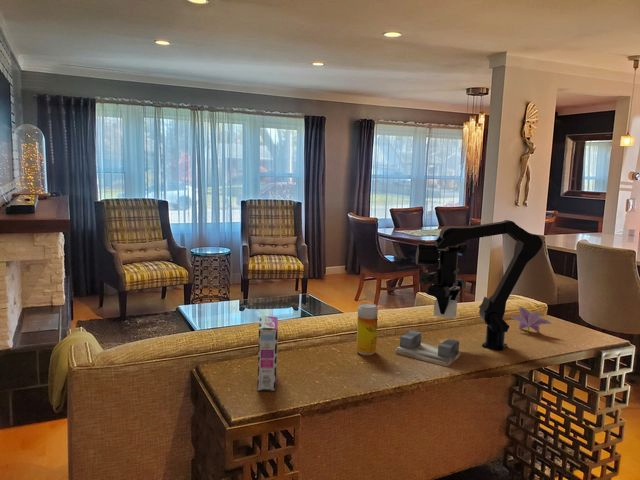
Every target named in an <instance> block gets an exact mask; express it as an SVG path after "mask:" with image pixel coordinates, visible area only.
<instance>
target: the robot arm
mask: <svg viewBox="0 0 640 480" xmlns="http://www.w3.org/2000/svg"><path fill="white" fill-rule="evenodd" d="M505 234H507V235H508V236H509V237H510V238H511V239H513V240H514V241H515V245H514V251H513V257H512V258H511V260H510V263H509V265H507V268H506V270H505V272H504V274H503V275H502V277H501V280H500V281H499V283H498V284H497V286H496V289H495V290H494V292H493V294H492V295H491V296H489V298H488V297H486V296H484V297H483V300H482V302H481V304H480V305H479V306H478V308H479V312H478V314H479V316H480V318H481V319H482V320H483V322H484V324H485V325H486V331H485V342H484V343H482V344H481V346H482V347H484V348H488V349H493V350H497V351H503V350H504V349H505V348H506V347H507V346H508V344H507V343H505V335H506V333H508V330H509V329H510V325H509V323H507V322H506V321H505V320H504V317H505V313H506V306H507V305H506V304H507V301H508V299H509V298H510V295H511V293H512V292H513V290H514V289H515V286H516V284H517V283H518V281H519V279H520V277H521V275H522V273H523V271H524V270H525V268H526V266H527V265H528V263H529V262H530V261H531V260H533V258H535V257H537V254H539V252H540V251H541V249H542V248H543V243H544V242H543V240H542V238H541V237H540V236H539V234H538V235H537V234H534V233H531V232H528V231H526V230H525V229H524V228H522V227H521V226H520V225H518V224H517V223H516V222H515V221H512V220H510V219H505V220H502V221H495V222H490V223H484V224H477V225H471V226H463V225H462V226H460V225H447V226H444V227H442V228H441V230H440V231H439V236H438V237H437V238H436V239H435V240H434V242H433V243H432V244H431V243H430V244H429V243H419V242H418V243H417V248H416V252H415V264H416V265H419V266H420V265H422V266H423V265H424V266H426V265H427V266H435V264H437V263H438V262H439V263H438V267H437V268H436V269H435V272H430V273H429V272H428V271H426V272H422V273H420V276H419V277H420V278H419V282H421V283H422V286H426V285H427V284H428V285H429V284H432V283H433V284H432V285H429V286H428V287H426V295H429V296H434V298H436V300H437V301H438V305H439V309H440V313H441V314H444V313H445V311H446V309H447V306H448V304H449V301H450V300H455V301H457V298H458V297H459V295H460V294H461V292H462V290H463V289H465V288H466V281H465V279H464V278H457V276H458V273H460V268H458V261H459V259H458V258H459V253H460V254H462V253H463V254H464V253H466V251H465V250H464V249H463V248H462V246H461V244H462V243H465V242H467V241H470V240H473V239H480V238H485V237H494V236H498V235H499V236H500V235H505ZM458 287H460V289H458Z"/></svg>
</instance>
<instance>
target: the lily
mask: <svg viewBox="0 0 640 480" xmlns="http://www.w3.org/2000/svg"><path fill="white" fill-rule="evenodd" d="M518 309H519V311H518V312H519V315H516V316H511V317H510V318H511V319H512V320H515V321H517V322H519V324H518V329H519V330H521V329H526V328H527V333H526V334H527V335H526V336H527V337H529V331H530V330H529V329H532V330H534V331H535V332H537V333H540V325H549V324H552V321H550V320H548V319H546V318H544V317H541V312H540V311H536V312H532V313H531V312H530V310H528V309H526V308H525V307H523V306H519V307H518Z"/></svg>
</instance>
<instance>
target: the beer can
mask: <svg viewBox="0 0 640 480" xmlns="http://www.w3.org/2000/svg"><path fill="white" fill-rule="evenodd" d="M378 310H379V309H378V307H377V305H376V304H374V303H368V302H367V303H360V304H359V306H358V307H357V319H356V320H357V325H356V346H355V347H356V348H355V349H356V351H357V353H358V354H359V355H362V356H373V355H374V354H375V353H376V351H377V337H378V336H377V335H378V334H377V333H378V314H379V311H378Z"/></svg>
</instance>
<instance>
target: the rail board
mask: <svg viewBox="0 0 640 480" xmlns="http://www.w3.org/2000/svg"><path fill="white" fill-rule="evenodd" d="M395 354H396V355H400V356H403V357H408V358H413V359H416V360H419V361H422V362H428V363H432V364H435V363H436V364H435V365H439V366H444V367H448V366H450V365H451V364H452V363H454V362H455V361H456V360H457V359H458V358H460V357H461V356H462V351H460V340H458V339H451V338H447V339H446V340H444V341H443V342H441V343H440V344H438V345H434V344H429V343H424V342H422V332H421V331H420V332H419V331H414V330H410V331H408V332H406V333H404V334H403V335H401V336H400V338H399V346H398V347H396V350H395ZM459 356H460V357H459ZM454 360H455V361H454Z"/></svg>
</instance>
